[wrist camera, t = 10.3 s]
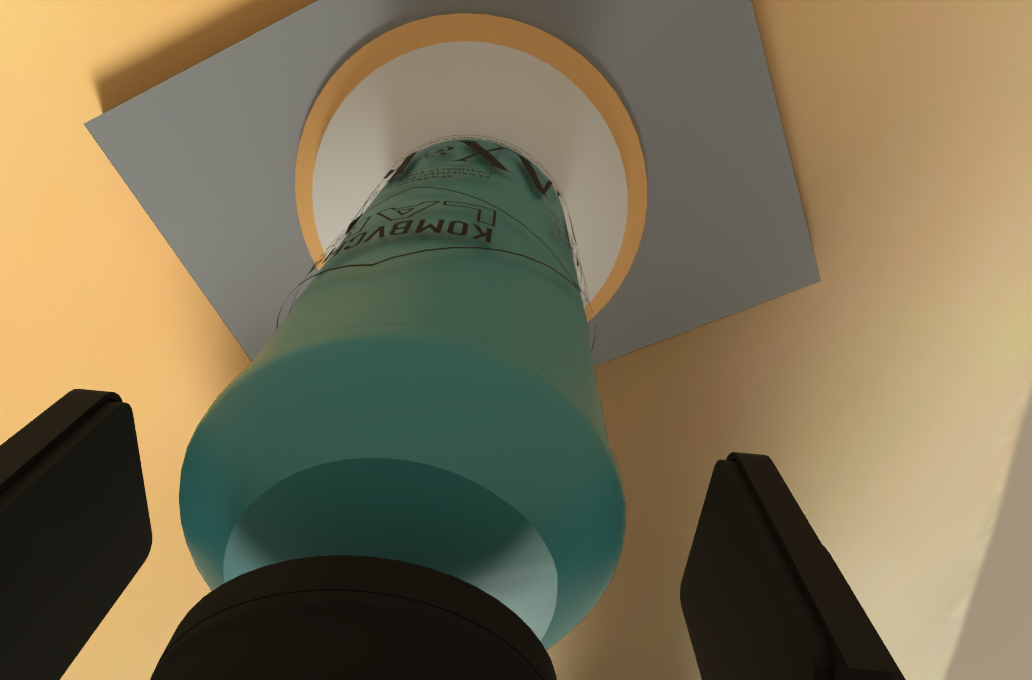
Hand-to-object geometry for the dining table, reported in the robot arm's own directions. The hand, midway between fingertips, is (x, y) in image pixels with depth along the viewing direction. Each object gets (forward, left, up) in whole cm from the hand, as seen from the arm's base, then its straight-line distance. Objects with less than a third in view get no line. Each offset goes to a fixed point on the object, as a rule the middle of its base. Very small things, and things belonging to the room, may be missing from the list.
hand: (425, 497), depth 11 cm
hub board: (+1, 0, -16) cm, 16 cm away
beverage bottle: (+1, 0, -14) cm, 14 cm away
